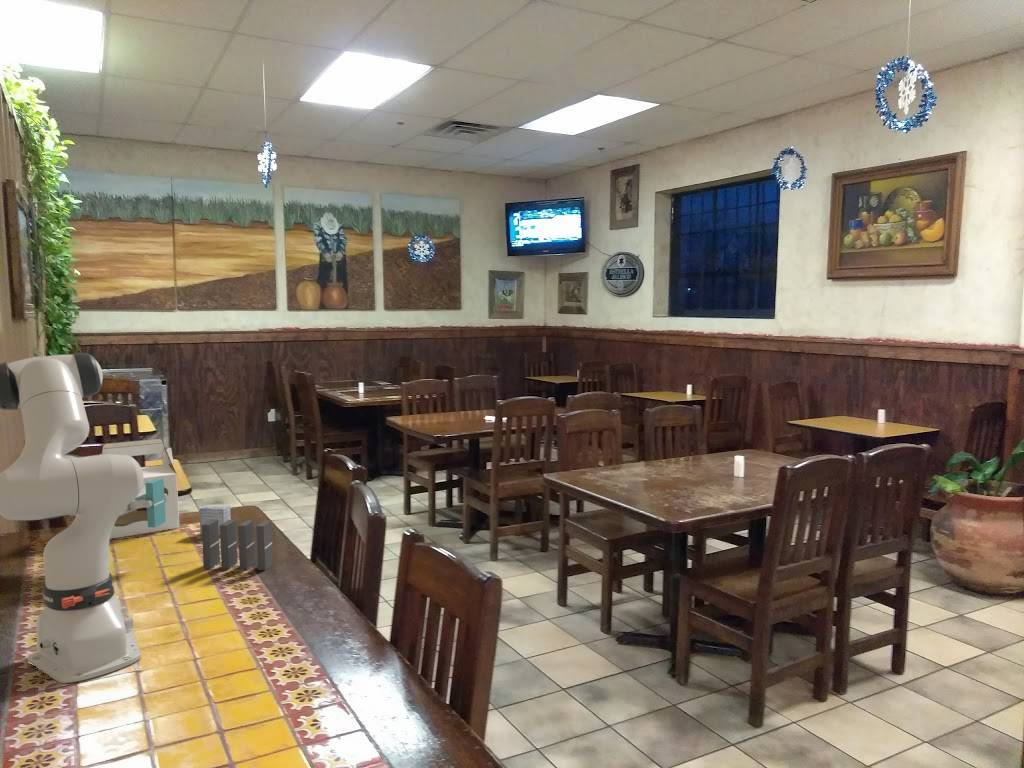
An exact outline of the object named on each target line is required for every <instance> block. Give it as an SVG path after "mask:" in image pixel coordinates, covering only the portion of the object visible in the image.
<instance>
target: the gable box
mask: <svg viewBox="0 0 1024 768" xmlns="http://www.w3.org/2000/svg"><path fill="white" fill-rule="evenodd" d="M102 454H116V455H129V456H131V457H137V456H144V455H145V456H146V455H158V454H160V455H161V458H162V464H157V465H155V464H154V465H147V466H140V467H141V469H142V472H143V484H145V483H146V482H149V481H151V480H154V479H163V482H164V494H167V500H165V516H166V522H165V523H163V524H161V525H159V526H157V527H148V520H147V510H133V511H130V512H128V513H126V514H123V515H121V516H118V518H117V520H116V522H115V524H114V526H113V528H112V531H111V534H110V539H109V540H113V539H112V538H114V539H119V537H120V538H125V536H126V537H132V536H138V534H139V535H143V534H145V535H146V534H151V533H157V532H162V531H163V530H164V531H169V530H168V529H170V530H175V529H180V513H179V511H180V510H179V497H178V496H179V494H178V491H179V490H178V479H177V478H178V476H177V475H178V473H177V472H176V469H175V468H174V465H173V464H174V458H173V451H172V447H170V446H169V447H167V448H166V447H165V446H164V443H163V440H162V439H161V438H153V439H152V438H151V439H150V438H149V439H144V440H143V439H142V440H131V441H122V442H121V441H120V442H119V441H118V442H111V443H110V442H109V443H104V444H103V445H102V450H101V453H100V454H99V455H102ZM95 455H96V454H94V455H93V456H95ZM156 531H157V532H156ZM164 531H163V532H164ZM150 532H151V533H150Z"/></svg>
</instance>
